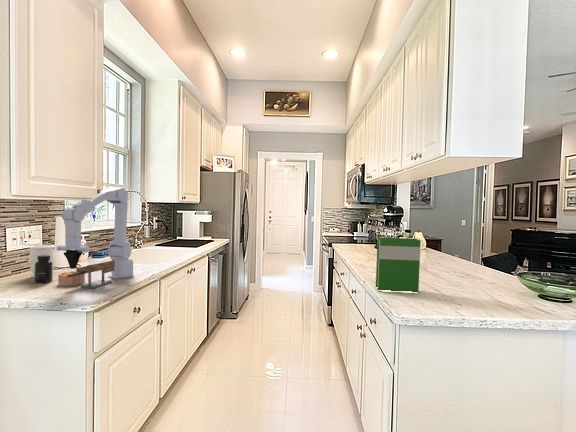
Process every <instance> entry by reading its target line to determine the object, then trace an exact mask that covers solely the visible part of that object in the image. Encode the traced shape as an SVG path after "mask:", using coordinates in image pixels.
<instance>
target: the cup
mask: <svg viewBox="0 0 576 432" xmlns="http://www.w3.org/2000/svg"><path fill="white" fill-rule="evenodd" d="M68 272H69V273H72V274H74V273H78V272H77V270H76V271H66V272H65V271H64V272H60V273H59V274H58V275H57V276H58V277H57V278H58V279H57V280H58V283H57V284H58V286H60V287H61V286H62V287H75V286H79V285H80V286H81V285H84V284H85V283H86V273H85V274H81V275H77V276H73V277H68V276H67V275H64V274H65V273H68Z"/></svg>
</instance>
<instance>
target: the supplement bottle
mask: <svg viewBox="0 0 576 432" xmlns="http://www.w3.org/2000/svg"><path fill="white" fill-rule="evenodd" d="M37 260H38V261H37V262H36V263H35V278H34V283H36V284H46V283H51V282H53V274H54V273H53V272H54V270H53V269H54V267H53V263H52V262H51V261H50V255H39V256H38V259H37Z"/></svg>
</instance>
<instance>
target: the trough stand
mask: <svg viewBox="0 0 576 432" xmlns="http://www.w3.org/2000/svg"><path fill="white" fill-rule="evenodd" d="M87 280H88V281H87V282H88V283H86V284H85V283H84V284H80V289H89V290H90V289H91V290H93V289H94V290H95V289H97V288H100V287H102V286H106V285H108V284H112V280H109V279H105V273H104V271H103V270H101V279H98V280H95V281H92V272H91V270H88V273H87Z"/></svg>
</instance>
